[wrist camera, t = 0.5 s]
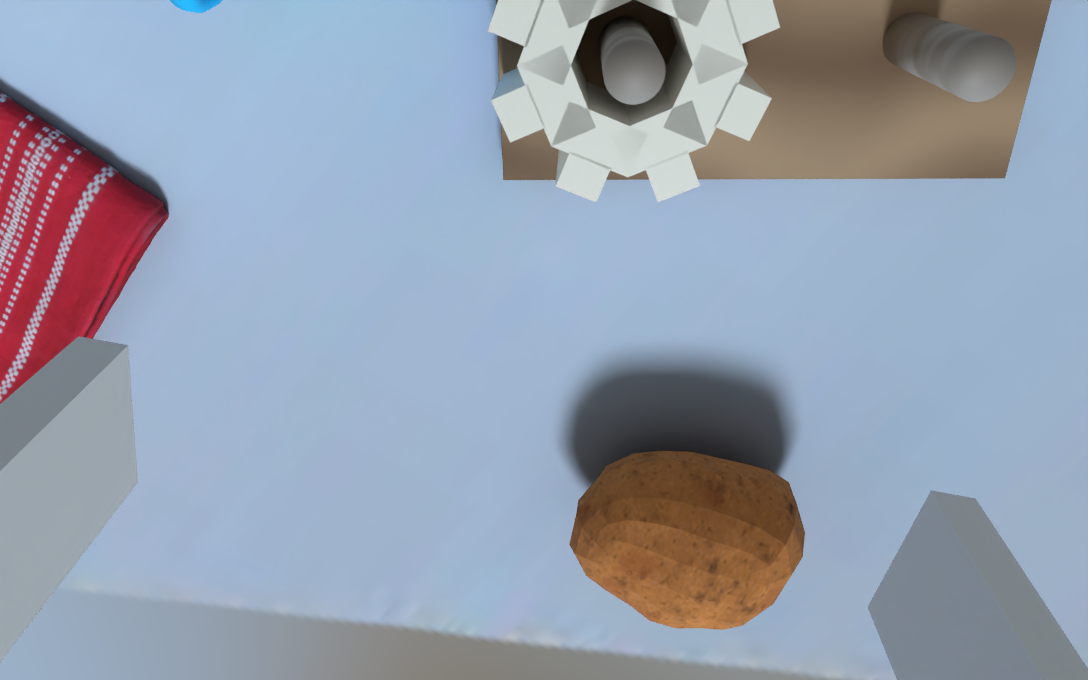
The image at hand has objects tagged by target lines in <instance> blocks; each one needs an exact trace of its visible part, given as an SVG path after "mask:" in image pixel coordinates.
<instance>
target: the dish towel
mask: <svg viewBox="0 0 1088 680" xmlns="http://www.w3.org/2000/svg"><path fill="white" fill-rule="evenodd" d="M167 219H168V212H167V211H166V210H165V209H164V203H163V202H161V201H160V200H159V199H158V198H156V197H155V196H153V195H151V194H150V193H148V192H147V191H145V190H144V189H142V188H140V187H139V186H137V185H136V184H134V183H132V182H130V181H129V180H127V179H126V178H124V177H123V176H122V175H121V174H120V173H119V172H118V171H117V170H116V169H114V168H113V167H111V166H110V165H108V164H107V163H106V162H104V161H103V160H102V159H100V158H99V157H97V156H95V155H94V154H92V153H91V152H90V151H88V150H87V149H86V148H83V147H82V146H80V145H79V144H77V143H76V142H75V141H73V140H72V139H71V138H69V137H68V136H66V135H65V134H64V133H63V132H61V131H59V130H57V129H56V128H55V127H54V126H51V125H49V124H48V123H46V122H45V121H43V120H42V119H41V118H40V117H39V116H38V115H35V114H33V113H31V112H29V111H28V110H26V109H25V108H23V107H22V106H20V105H18V104H17V103H15V102H14V101H13V100H12V99H11V98H10V97H8V96H7V95H5V94H4V93H1V92H0V404H1V403H2V402H3V401H4V400H6V399H7V398H8V397H9V396H10V395H11V394H12V393H14V392H15V391H16V390H17V389H18V388H19V387H21V386H22V385H23V384H24V383H25V382H26V381H27V380H29V379H30V378H31V377H32V376H33V375H34V374H35V373H37V372H38V371H39V370H40V369H41V368H42V367H44V366H45V365H46V364H47V363H48V362H49V361H50V360H52V359H53V358H54V357H55V356H56V355H57V354H59V353H60V352H61V351H62V350H63V349H64V348H65V347H67V346H68V345H69V344H70V343H71V342H72V341H74V340H75V339H76V338H77V337H78V336H79V337H84V338H90V339H93V337H94V335H95V334H96V332H97V331H98V329H99V327H100V326H101V324H102V322H103V321H104V319H105V317H106V315H107V314H108V312H109V310H110V309H111V307H112V306H113V304H114V303H115V301H116V300H117V298H118V297H119V295H120V293H121V291H122V289H123V287H124V285H125V284H126V282H127V280H128V279H129V277H130V275H131V274H132V272H133V271H134V270H135V269H136V265H137V264H138V262H139V261H140V259H141V257H142V256H143V254H144V252H145V251H146V249H147V248H148V246H149V245H150V243H151V241H152V239H153V238H154V236H155V235H156V233H157V232H158V231H159V230H160V228H161V227H162V225H163V224H164V223H165V221H166V220H167Z"/></svg>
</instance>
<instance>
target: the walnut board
mask: <svg viewBox="0 0 1088 680" xmlns="http://www.w3.org/2000/svg"><path fill="white" fill-rule="evenodd" d="M497 3H498V0H496V6H497ZM773 4H774V7H775V11H776V14H777V18H778V22H779V25H780V28H778V29H776V30H773V31H771V32H769V33H766V34H764V35H762V36H759V37H757V38H755V39H752V40H750V41H748V42H745V43H743V44H742V46H743V49H744V53H745V56H746V59H747V63H748V65H747V67H746V69H745V71H744V72H746V73H747V74H748V75H749V76H750V77H751V78H752V79H753V80H754V81H755V82H756V83H757V84H758V85H759V86H760V87H761V88H762V89H763V90H764V91H765V92H766V93H767V94H768V95H769V96H770V97H771V98H772V99H771V101H770V103H769V105H768V107H767V109H766V111H765V113H764V114H763V116H762V118H761V120H760V122H759V124H758V126H757V128H756V130H755V132H754V134H753V135H752V137H751V139H750V141H747V140H745V139H743V138H740V137H738V136H736V135H733V134H731V133H728V132H726V131H724V130H721V129H719V128H717V127H716V129H715V131H714V133H713V135H712V137H711V139H710V141H709V143H708V145H707V146H705V147H702V148H700V149H697V150H695V151H692V152H690V153H689V156H690V159H691V162H692V165H693V168H694V170H695V173H696V176H697V179H918V178H1005V176H1006V172H1007V168H1008V164H1009V161H1010V157H1011V153H1012V149H1013V145H1014V141H1015V138H1016V134H1017V130H1018V126H1019V122H1020V119H1021V115H1022V111H1023V107H1024V103H1025V100H1026V96H1027V92H1028V88H1029V84H1030V81H1031V77H1032V73H1033V69H1034V65H1035V61H1036V58H1037V54H1038V50H1039V46H1040V42H1041V39H1042V35H1043V31H1044V27H1045V23H1046V20H1047V16H1048V12H1049V8H1050V4H1051V0H773ZM676 44H677V41H676V38H675V35H674V32H673V29H672V26H671V23H670V20H669V17H668V14H666V13H664V12H662V11H659V10H657V9H655V8H653V7H650V6H648V5H646V4H643V3H641V2H639V1H637V0H631V1H629V2H627V3H625V4H623V5H620V6H618V7H616V8H614V9H611V10H609V11H607V12H605V13H603V14H600V15H598V16H596V17H594V18H592V19H589V21H588V24H587V26H586V29H585V31H584V34H583V36H582V39H581V41H580V44H579V46H578V49H577V51H576V55H577V57H578V60H579V62H580V65H581V67H582V70H583V72H584V75H585V77H586V80H587V82H589V83H591V84H594V85H596V86H599V87H601V88H603V89H606V90H608V92H609V93H610V94H611V95H612V96H613V97H614V98H615V99H616V100H618V101H620V102H622V103H625V104H631V105H635V104H641V103H644V102H646V101H648V100H650V99H651V98H653V97H654V96H655V95H656V94H657V93H658V92H659V90H660V89H661V87H662V85H663V82H664V79H665V68H666V66H667V64H668V62H669V60H670V57H671V55H672V53H673V51H674V48H675V46H676ZM523 48H524V46H522V45H520V44H518V43H515V42H513V41H510V40H508V39H506V38H503V37H501V36H499V35H498V59H499V82H500V80H501V78H502V76H503V74H505V73H507V72H509V71H512V70H514V69H516V68H517V64H518V62H519V59H520V56H521V53H522V51H523ZM501 133H502V157H503V180H556V176H557V165H558V154H559V149H556V148H554V147H551V145H550V142H549V140H548V138H547V135H546V133H545V131H544V128H543V129H541V130H539V131H536V132H534V133H532V134H529V135H527V136H525V137H522V138H520V139H518V140H515V141H513V142H511V143H510V141H509V139H508V137H507V135H506V132H505V130H504V128H503V126H502V123H501ZM629 179H649V177H648V174H647V172H646V170H645V171H642V172H640V173H637V174H635V175H632V176H630V177H626V176H623V175H621V174H618V173H616V172H613V171H611V170H610V172H609V174H608V176H607V179H606V180H629Z"/></svg>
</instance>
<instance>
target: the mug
mask: <svg viewBox="0 0 1088 680" xmlns="http://www.w3.org/2000/svg"><path fill="white" fill-rule="evenodd" d="M170 1H171V2H172V3H173V4H174V5H175V6H176V7H178V8H180V9H182V10H185V11H190V12H196V13H203V12H205V11H207V10H209V9H211V8H212V7H214V6H216V5H217V4H219V3H220V2H221V1H222V0H170Z"/></svg>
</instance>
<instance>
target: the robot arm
mask: <svg viewBox="0 0 1088 680" xmlns="http://www.w3.org/2000/svg"><path fill="white" fill-rule="evenodd" d="M137 482H138V478H137V464H136V450H135V436H134V422H133V408H132V394H131V380H130V366H129V352H128V345H123V344H118V343H112V342H107V341H101V340H96V339H90V338H84V337H79V336H78V337H77V338H76V339H75V340H74V341H72V342H71V343H70V344H69V345H68V346H67V347H65V348H64V349H63V350H62V351H61V352H60V353H59V354H57V355H56V356H55V357H54V358H53V359H52V360H50V361H49V362H48V363H47V364H46V365H45V366H44V367H42V368H41V369H40V370H39V371H38V372H37V373H35V374H34V375H33V376H32V377H31V378H30V379H29V380H27V381H26V382H25V383H24V384H23V385H22V386H21V387H19V388H18V389H17V390H16V391H15V392H14V393H12V394H11V395H10V396H9V397H8V398H7V399H6V400H4V401H3V402H2V403H1V404H0V662H1V661H2V660H3V658H4V657H5V656H6V655H7V653H8V652H9V650H10V649H11V648H12V647H13V645H14V644H15V643H16V641H17V640H18V639H19V637H20V636H21V634H22V633H23V632H24V630H25V629H26V628H27V627H28V626H29V624H30V623H31V622H32V620H33V619H34V617H35V616H36V615H37V614H38V612H39V611H40V610H41V609H42V607H43V606H44V604H45V603H46V602H47V600H48V599H49V598H50V597H51V595H52V594H53V593H54V591H55V590H56V589H57V588H58V586H59V585H60V584H61V582H62V581H63V580H64V578H65V577H66V576H67V574H68V573H69V572H70V570H71V569H72V568H73V566H74V565H75V564H76V563H77V561H78V560H79V559H80V557H81V556H82V555H83V553H84V552H85V551H86V549H87V548H88V547H89V545H90V544H91V543H92V542H93V540H94V539H95V538H96V536H97V535H98V534H99V532H100V531H101V530H102V528H103V527H104V526H105V524H106V523H107V522H108V521H109V519H110V518H111V517H112V515H113V514H114V513H115V511H116V510H117V509H118V507H119V506H120V505H121V503H122V502H123V501H124V500H125V498H126V497H127V496H128V494H129V493H130V492H131V490H132V489H133V488H134V486H135V485H136V484H137ZM868 609H869V612H870V614H871V617H872V619H873V621H874V624H875V626H876V629H877V631H878V634H879V636H880V639H881V641H882V644H883V646H884V648H885V651H886V653H887V656H888V658H889V661H890V663H891V666H892V668H893V671H894V673H895V675H896V678H897V680H1088V668H1087V667H1086V665H1085V664H1084V662H1083V661H1082V659H1081V658H1080V656H1079V655H1078V653H1077V652H1076V650H1075V649H1074V647H1073V646H1072V644H1071V643H1070V641H1069V639H1068V638H1067V636H1066V635H1065V633H1064V632H1063V630H1062V629H1061V627H1060V626H1059V624H1058V623H1057V621H1056V620H1055V618H1054V617H1053V615H1052V614H1051V612H1050V611H1049V609H1048V608H1047V606H1046V605H1045V603H1044V602H1043V600H1042V599H1041V597H1040V596H1039V594H1038V593H1037V591H1036V590H1035V588H1034V587H1033V585H1032V584H1031V582H1030V580H1029V579H1028V577H1027V576H1026V574H1025V573H1024V571H1023V570H1022V568H1021V567H1020V565H1019V564H1018V562H1017V561H1016V559H1015V558H1014V556H1013V555H1012V553H1011V552H1010V550H1009V549H1008V547H1007V546H1006V544H1005V543H1004V541H1003V540H1002V538H1001V537H1000V535H999V534H998V532H997V531H996V529H995V528H994V526H993V525H992V523H991V521H990V520H989V518H988V517H987V515H986V514H985V512H984V511H983V509H982V508H981V506H980V505H979V503H978V502H977V500H976V499H975V498H970V497H964V496H959V495H953V494H948V493H942V492H936V491H931V492H930V494H929V495H928V497H927V499H926V501H925V503H924V505H923V507H922V508H921V510H920V512H919V514H918V516H917V518H916V519H915V521H914V523H913V525H912V527H911V529H910V530H909V532H908V534H907V536H906V538H905V540H904V541H903V543H902V545H901V547H900V549H899V551H898V552H897V554H896V556H895V558H894V560H893V562H892V563H891V565H890V567H889V569H888V571H887V573H886V574H885V576H884V578H883V580H882V582H881V584H880V586H879V587H878V589H877V591H876V593H875V595H874V597H873V598H872V600H871V602H870V604H869V606H868Z"/></svg>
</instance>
